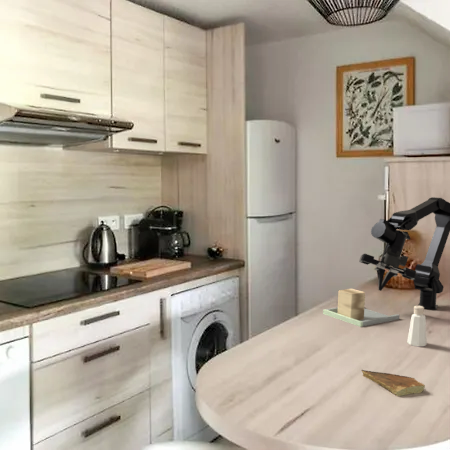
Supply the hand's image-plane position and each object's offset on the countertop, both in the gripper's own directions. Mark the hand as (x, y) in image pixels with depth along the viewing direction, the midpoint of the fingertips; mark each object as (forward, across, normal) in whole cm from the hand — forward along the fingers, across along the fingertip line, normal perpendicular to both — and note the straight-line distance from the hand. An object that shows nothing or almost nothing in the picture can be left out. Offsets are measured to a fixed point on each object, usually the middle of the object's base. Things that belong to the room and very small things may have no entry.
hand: (379, 290), depth 182 cm
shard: (+26, +2, -56) cm, 62 cm away
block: (+12, -7, -6) cm, 15 cm away
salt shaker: (+13, +11, -24) cm, 30 cm away
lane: (+12, -3, -3) cm, 12 cm away
